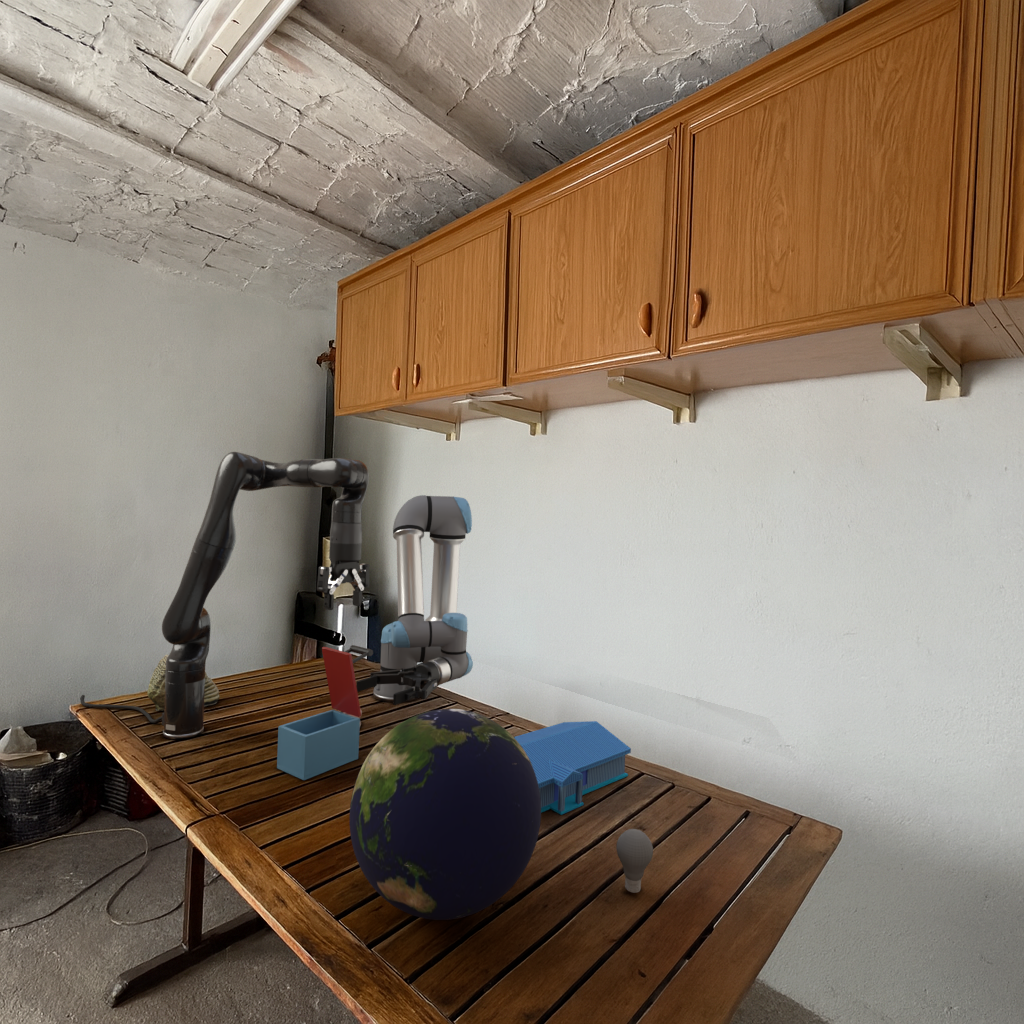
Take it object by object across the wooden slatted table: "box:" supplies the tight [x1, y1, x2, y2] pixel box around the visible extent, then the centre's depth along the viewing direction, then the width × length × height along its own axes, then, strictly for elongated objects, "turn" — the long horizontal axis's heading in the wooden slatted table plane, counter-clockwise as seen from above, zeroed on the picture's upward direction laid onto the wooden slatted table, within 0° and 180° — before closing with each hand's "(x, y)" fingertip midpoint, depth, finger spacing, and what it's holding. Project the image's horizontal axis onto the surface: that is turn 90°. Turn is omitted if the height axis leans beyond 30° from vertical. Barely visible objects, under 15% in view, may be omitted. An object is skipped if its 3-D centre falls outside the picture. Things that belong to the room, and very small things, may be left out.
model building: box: [513, 720, 632, 816], centre depth 144 cm, size 39×24×10 cm, turn 132°
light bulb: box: [615, 828, 654, 894], centre depth 106 cm, size 6×6×10 cm
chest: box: [276, 709, 361, 781], centre depth 150 cm, size 16×10×10 cm, turn 145°
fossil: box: [147, 654, 221, 712], centre depth 185 cm, size 9×18×15 cm, turn 132°
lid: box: [321, 644, 374, 718], centre depth 158 cm, size 16×10×9 cm
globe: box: [349, 708, 542, 921], centre depth 100 cm, size 30×30×30 cm
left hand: (343, 607), depth 154 cm, fingers open, 8 cm apart
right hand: (375, 692), depth 163 cm, fingers open, 13 cm apart
